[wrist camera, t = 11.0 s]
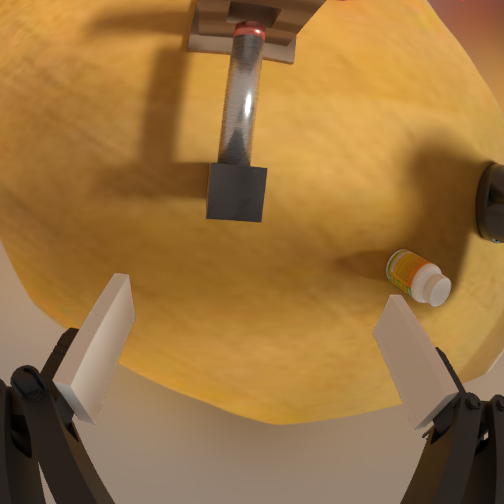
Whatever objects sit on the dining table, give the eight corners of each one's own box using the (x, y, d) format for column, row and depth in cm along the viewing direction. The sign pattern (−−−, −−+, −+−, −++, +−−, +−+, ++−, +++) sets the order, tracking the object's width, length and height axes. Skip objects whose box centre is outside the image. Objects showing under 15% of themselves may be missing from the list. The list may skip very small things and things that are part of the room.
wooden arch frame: (291, 64, 27) (339, 19, 15) (187, 51, 25) (179, -7, 13) (296, 13, 25) (338, -40, 13) (198, 0, 23) (199, -65, 11)
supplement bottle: (378, 274, 38) (419, 304, 29) (397, 242, 37) (442, 265, 28) (399, 287, 39) (438, 317, 30) (417, 258, 38) (460, 282, 29)
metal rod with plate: (242, 201, 31) (261, 222, 21) (206, 199, 31) (206, 218, 20) (259, 54, 26) (284, 10, 16) (223, 49, 25) (233, 2, 15)
